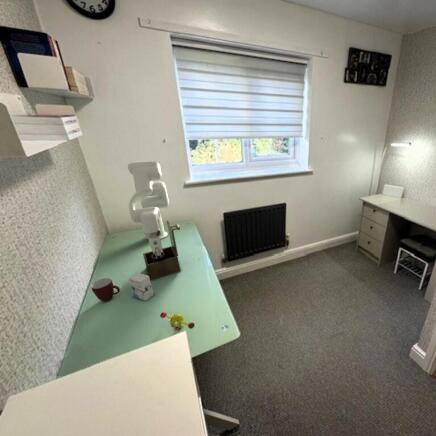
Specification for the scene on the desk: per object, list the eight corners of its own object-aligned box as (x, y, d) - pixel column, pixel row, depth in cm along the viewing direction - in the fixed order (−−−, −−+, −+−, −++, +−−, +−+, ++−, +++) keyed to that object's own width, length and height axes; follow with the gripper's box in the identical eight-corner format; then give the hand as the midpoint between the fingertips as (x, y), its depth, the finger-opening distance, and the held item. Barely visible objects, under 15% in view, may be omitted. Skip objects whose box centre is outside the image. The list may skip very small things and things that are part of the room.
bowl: (152, 260, 139) (150, 254, 137) (164, 257, 142) (163, 250, 140) (154, 266, 134) (152, 259, 132) (166, 262, 137) (165, 255, 136)
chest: (150, 280, 131) (145, 265, 127) (146, 267, 142) (142, 253, 138) (180, 271, 140) (177, 256, 136) (175, 259, 151) (172, 245, 147)
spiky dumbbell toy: (157, 326, 103) (154, 314, 101) (167, 317, 108) (164, 305, 105) (190, 339, 98) (187, 327, 95) (199, 329, 102) (197, 317, 100)
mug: (124, 291, 123) (119, 275, 119) (120, 301, 116) (114, 285, 112) (100, 295, 120) (94, 279, 116) (94, 306, 113) (87, 290, 109)
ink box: (133, 296, 120) (127, 278, 115) (142, 290, 124) (136, 272, 119) (146, 301, 117) (140, 282, 112) (154, 294, 121) (149, 275, 117)
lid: (171, 230, 129) (181, 228, 131) (166, 220, 140) (175, 219, 143) (176, 256, 135) (186, 253, 138) (171, 245, 146) (180, 243, 149)
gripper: (162, 237, 126) (169, 265, 133) (157, 226, 139) (163, 252, 146) (146, 241, 122) (154, 270, 129) (143, 229, 135) (150, 255, 142)
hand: (159, 260), depth 138 cm, fingers closed on bowl, 6 cm apart
